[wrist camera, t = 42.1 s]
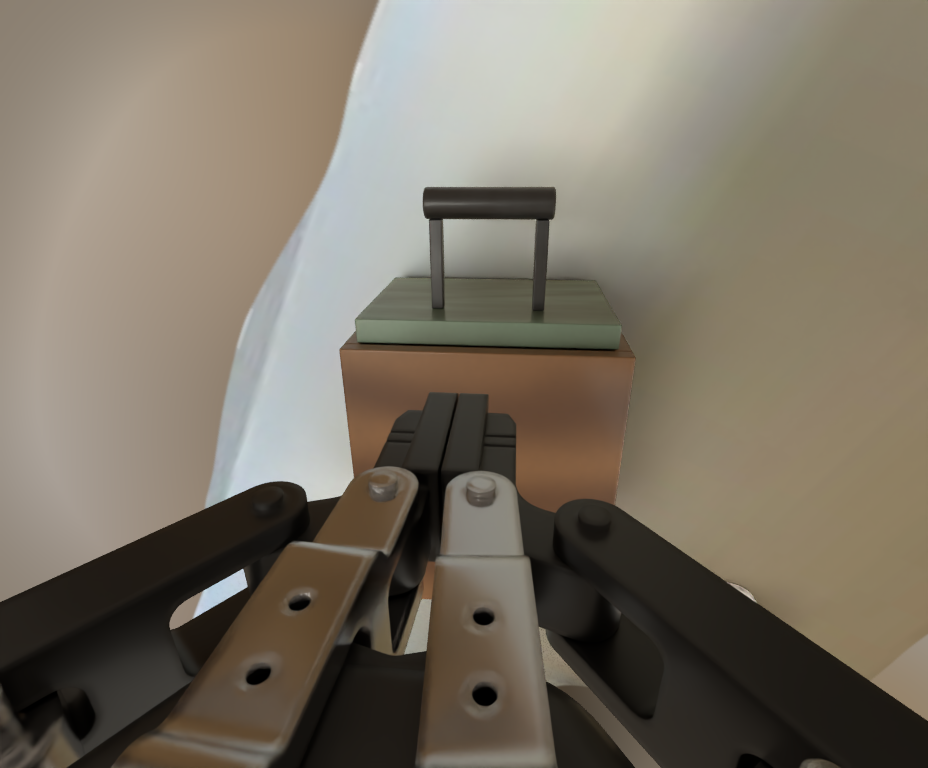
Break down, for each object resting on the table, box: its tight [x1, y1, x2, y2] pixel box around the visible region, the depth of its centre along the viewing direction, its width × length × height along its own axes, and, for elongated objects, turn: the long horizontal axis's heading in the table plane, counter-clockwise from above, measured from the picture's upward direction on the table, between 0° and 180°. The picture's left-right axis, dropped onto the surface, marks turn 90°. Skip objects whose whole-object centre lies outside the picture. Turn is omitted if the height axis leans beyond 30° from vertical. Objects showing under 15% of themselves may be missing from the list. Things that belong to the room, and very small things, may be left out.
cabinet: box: [340, 331, 636, 599], centre depth 31 cm, size 16×14×11 cm
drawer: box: [355, 187, 622, 351], centre depth 30 cm, size 20×12×9 cm, turn 0°
